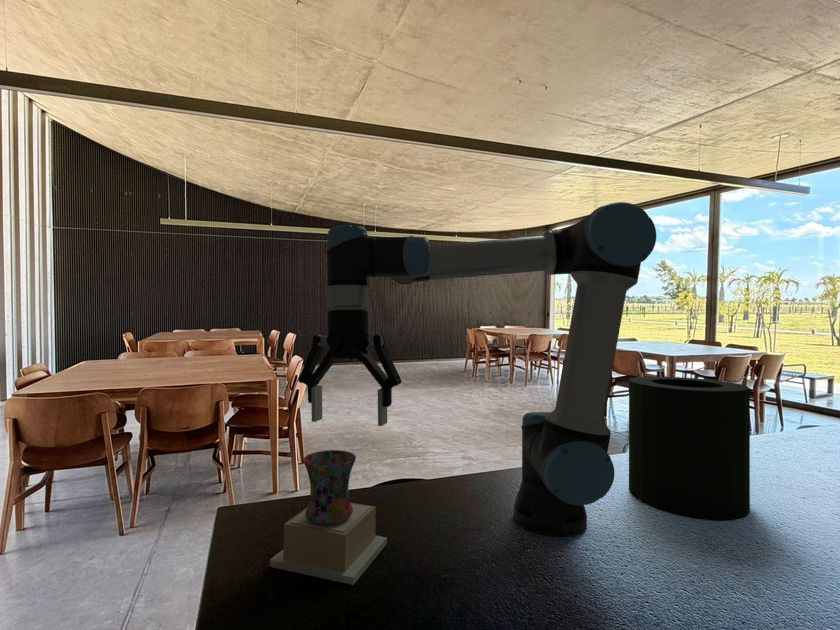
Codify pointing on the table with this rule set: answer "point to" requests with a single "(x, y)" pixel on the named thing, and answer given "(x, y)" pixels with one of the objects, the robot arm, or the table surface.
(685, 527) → the table surface
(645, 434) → the flower pot
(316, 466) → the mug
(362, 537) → the cream stepped pedestal
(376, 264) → the robot arm
